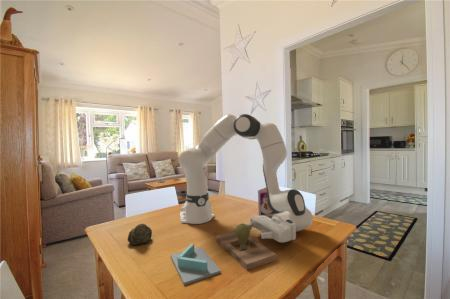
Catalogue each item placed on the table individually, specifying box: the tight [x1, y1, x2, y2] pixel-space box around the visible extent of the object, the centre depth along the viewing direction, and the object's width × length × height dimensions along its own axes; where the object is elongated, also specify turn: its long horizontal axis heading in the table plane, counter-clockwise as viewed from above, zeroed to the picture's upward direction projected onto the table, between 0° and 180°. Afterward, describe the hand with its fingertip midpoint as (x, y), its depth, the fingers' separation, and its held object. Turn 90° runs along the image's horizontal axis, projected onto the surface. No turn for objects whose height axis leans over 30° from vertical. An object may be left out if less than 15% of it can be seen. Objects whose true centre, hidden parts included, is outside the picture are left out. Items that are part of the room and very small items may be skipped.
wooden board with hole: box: [215, 230, 277, 271], centre depth 83 cm, size 24×12×2 cm, turn 27°
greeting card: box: [257, 187, 279, 218], centre depth 120 cm, size 11×7×15 cm, turn 104°
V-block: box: [169, 243, 222, 286], centre depth 74 cm, size 18×12×4 cm, turn 27°
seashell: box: [127, 223, 153, 245], centre depth 93 cm, size 11×12×10 cm
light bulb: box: [235, 223, 251, 251], centre depth 83 cm, size 6×6×10 cm
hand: (253, 231), depth 85 cm, fingers open, 8 cm apart
